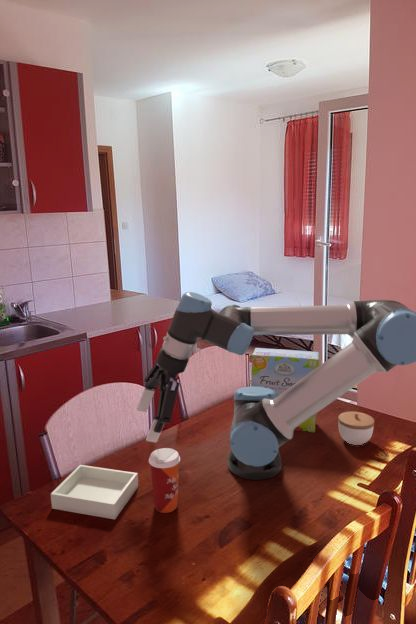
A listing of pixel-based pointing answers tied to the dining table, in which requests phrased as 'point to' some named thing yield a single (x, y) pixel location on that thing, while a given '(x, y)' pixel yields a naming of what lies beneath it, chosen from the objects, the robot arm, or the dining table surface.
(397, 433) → the dining table surface
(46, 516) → the dining table surface
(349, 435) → the lidded jar
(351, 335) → the robot arm
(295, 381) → the snack box
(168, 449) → the paper cup
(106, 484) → the tray
